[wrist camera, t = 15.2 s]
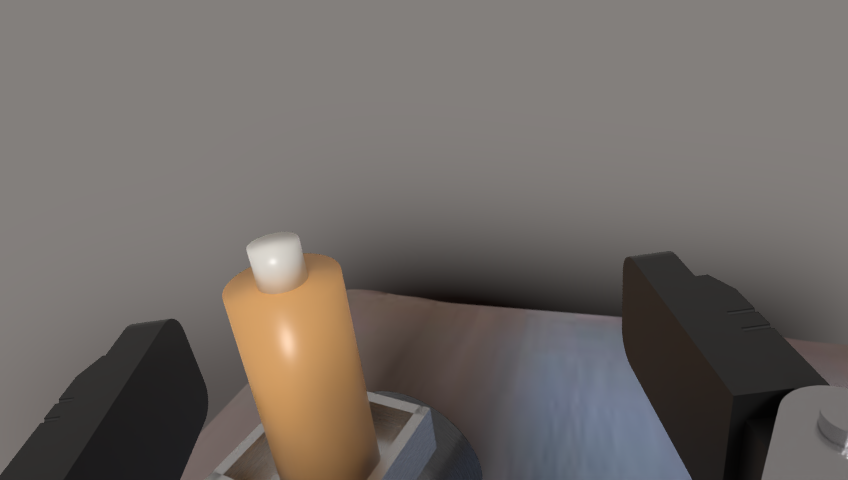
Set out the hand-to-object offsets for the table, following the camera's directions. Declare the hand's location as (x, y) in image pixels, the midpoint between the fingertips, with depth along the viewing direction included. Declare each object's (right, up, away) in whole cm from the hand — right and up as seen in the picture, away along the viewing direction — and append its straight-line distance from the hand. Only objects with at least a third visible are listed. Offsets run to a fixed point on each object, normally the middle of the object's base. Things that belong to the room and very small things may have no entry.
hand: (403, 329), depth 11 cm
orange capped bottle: (-5, -11, +22) cm, 25 cm away
